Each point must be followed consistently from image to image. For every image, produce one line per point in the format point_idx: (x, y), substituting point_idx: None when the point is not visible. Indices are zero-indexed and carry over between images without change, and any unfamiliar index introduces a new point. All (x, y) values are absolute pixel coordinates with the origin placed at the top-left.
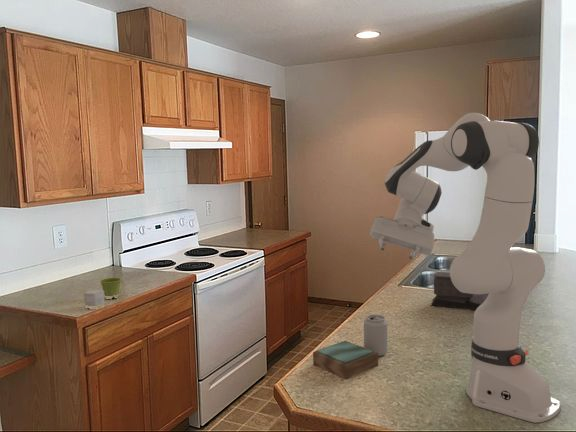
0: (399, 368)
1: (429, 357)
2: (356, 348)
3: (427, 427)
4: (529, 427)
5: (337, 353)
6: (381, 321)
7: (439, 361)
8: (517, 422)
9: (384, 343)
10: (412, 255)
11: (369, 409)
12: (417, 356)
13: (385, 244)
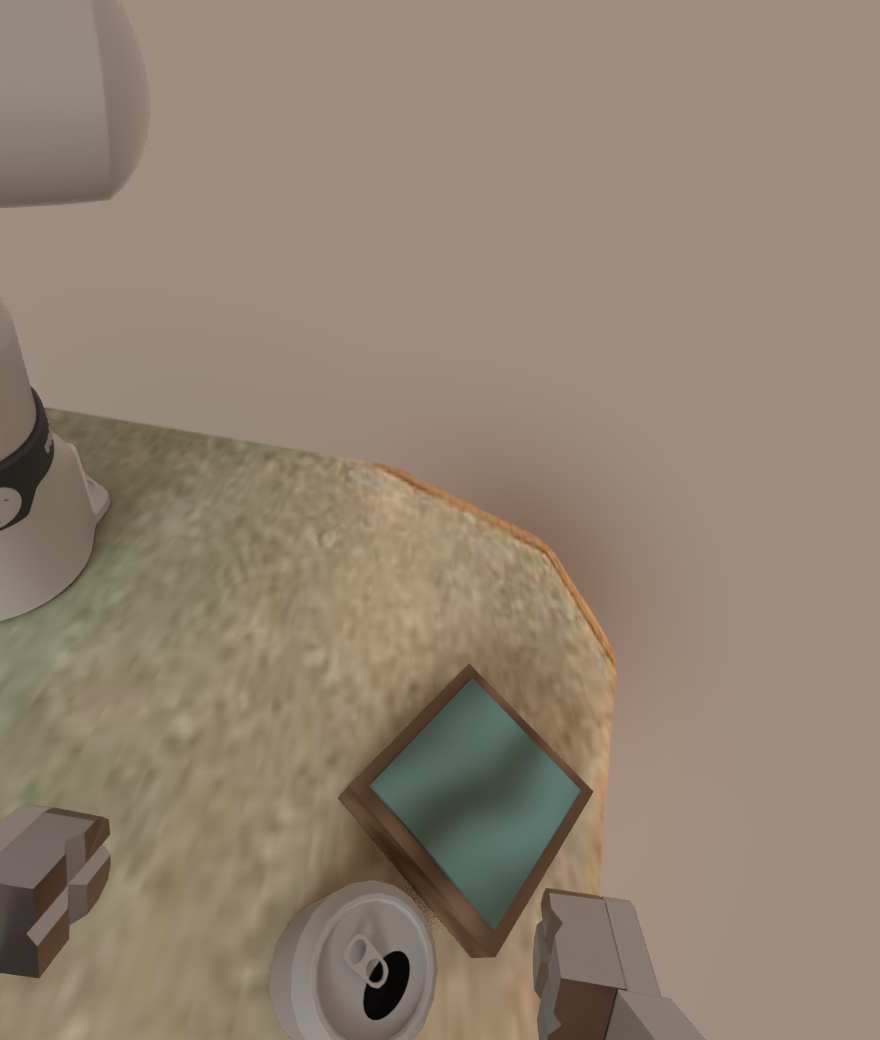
0: (256, 768)
1: None
2: (440, 820)
3: (279, 446)
4: None
5: (508, 761)
6: (340, 909)
7: None
8: None
9: (301, 914)
10: (52, 814)
11: (393, 523)
12: (115, 930)
13: (561, 948)
